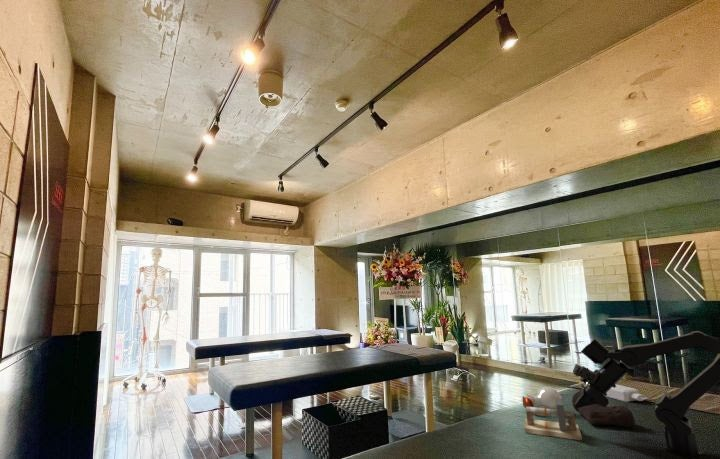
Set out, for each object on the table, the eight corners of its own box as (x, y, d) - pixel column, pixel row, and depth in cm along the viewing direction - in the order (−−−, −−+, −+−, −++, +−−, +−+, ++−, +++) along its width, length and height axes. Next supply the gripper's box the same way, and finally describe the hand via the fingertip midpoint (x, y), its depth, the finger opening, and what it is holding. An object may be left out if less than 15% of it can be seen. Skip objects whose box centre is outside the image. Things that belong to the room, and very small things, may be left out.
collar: (564, 422, 122) (561, 398, 124) (566, 430, 115) (563, 405, 117) (558, 421, 123) (555, 398, 125) (560, 429, 116) (556, 404, 118)
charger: (640, 406, 143) (604, 397, 157) (654, 403, 146) (618, 394, 160) (638, 394, 144) (603, 386, 157) (652, 391, 147) (616, 383, 161)
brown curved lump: (634, 407, 120) (611, 388, 134) (587, 409, 122) (569, 390, 137) (638, 435, 119) (615, 413, 134) (591, 436, 122) (573, 414, 137)
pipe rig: (578, 429, 121) (575, 407, 123) (581, 440, 112) (578, 416, 114) (525, 422, 129) (523, 401, 130) (525, 432, 120) (522, 410, 121)
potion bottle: (565, 414, 139) (532, 422, 137) (549, 394, 148) (517, 401, 146) (570, 399, 136) (536, 406, 133) (553, 379, 144) (521, 386, 142)
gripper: (582, 352, 128) (553, 381, 130) (590, 361, 111) (556, 394, 114) (612, 376, 123) (580, 406, 125) (624, 390, 106) (588, 423, 109)
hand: (575, 406), depth 119 cm, fingers closed
